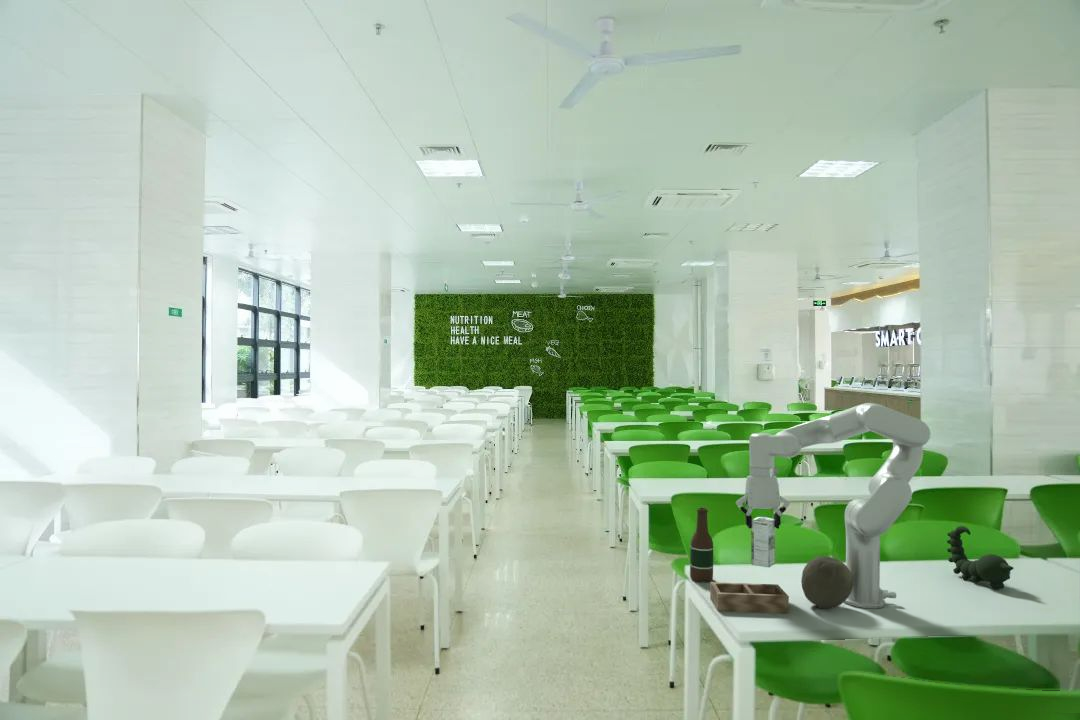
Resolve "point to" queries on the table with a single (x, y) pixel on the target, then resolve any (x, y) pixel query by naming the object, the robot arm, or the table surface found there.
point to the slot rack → (749, 597)
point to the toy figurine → (977, 563)
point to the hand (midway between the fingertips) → (763, 527)
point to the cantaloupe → (826, 582)
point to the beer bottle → (701, 550)
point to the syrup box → (763, 542)
